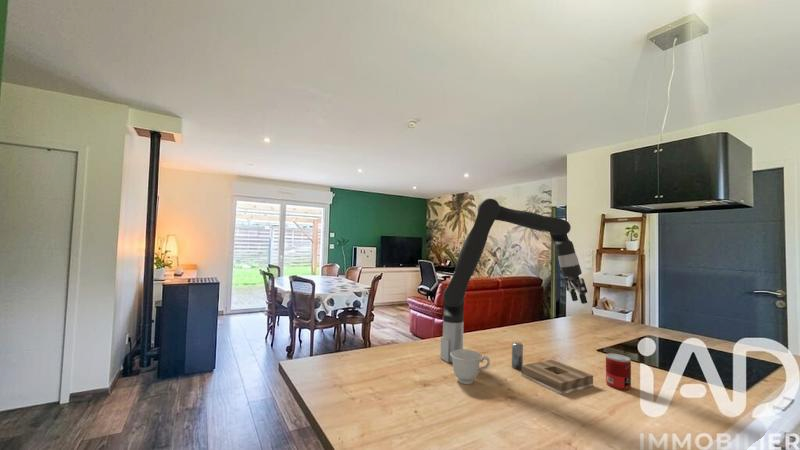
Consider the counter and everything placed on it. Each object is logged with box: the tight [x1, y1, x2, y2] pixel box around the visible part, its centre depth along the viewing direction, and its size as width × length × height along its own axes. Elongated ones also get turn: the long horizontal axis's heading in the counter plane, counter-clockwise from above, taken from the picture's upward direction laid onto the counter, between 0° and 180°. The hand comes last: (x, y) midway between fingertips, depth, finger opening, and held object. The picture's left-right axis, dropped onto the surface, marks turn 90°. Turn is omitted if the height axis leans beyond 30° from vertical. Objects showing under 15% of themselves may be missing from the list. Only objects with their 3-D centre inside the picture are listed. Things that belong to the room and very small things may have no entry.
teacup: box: [450, 348, 491, 385], centre depth 127 cm, size 12×15×10 cm
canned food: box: [605, 353, 632, 391], centre depth 126 cm, size 8×8×11 cm
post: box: [511, 341, 524, 371], centre depth 142 cm, size 4×4×10 cm
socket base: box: [520, 359, 594, 396], centre depth 129 cm, size 18×18×4 cm
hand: (579, 302), depth 142 cm, fingers open, 8 cm apart
